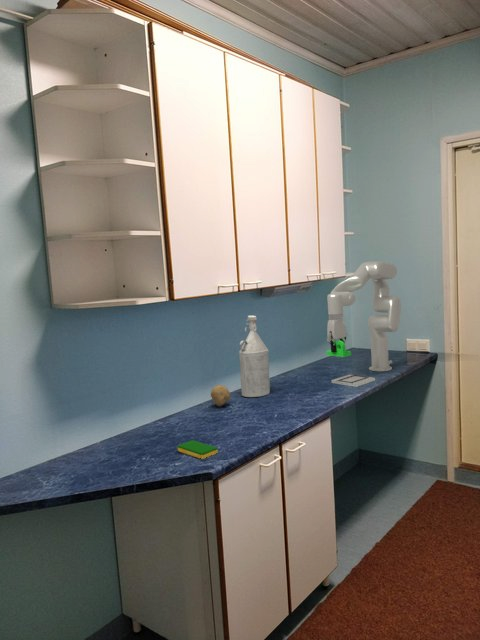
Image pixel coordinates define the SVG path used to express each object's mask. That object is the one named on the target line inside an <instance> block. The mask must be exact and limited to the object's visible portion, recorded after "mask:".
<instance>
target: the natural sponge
mask: <svg viewBox="0 0 480 640" xmlns="http://www.w3.org/2000/svg"><path fill="white" fill-rule="evenodd" d="M210 397H211V400H212V401H213V403H214V404H215V405H216V406H218V407H222V406H224V404H226V403H227V402H229V401H230V399H231V393H230V391H229V389H228V387H226V386H225V385H223V384H217V385H216V386H214V387H212V389H211V390H210Z"/></svg>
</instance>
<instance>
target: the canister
mask: <svg viewBox="0 0 480 640" xmlns="http://www.w3.org/2000/svg"><path fill="white" fill-rule="evenodd" d="M248 321H249V323H247V322H248ZM247 325H249V326H248V327H247ZM248 329H249V333H248V335H247V336H246V338H245V340H241V341H240V342H239V349H240V350H239V351H238V354H239V355H238V357H239V369H240V370H239V371H240V373H239V374H240V385H241V386H240V387H241V389H240V390H241V396H242V397H245V398H258V397H264V396H267V395H269V394H270V393H271V390H270V389H271V386H270V359H269V358H270V357H269V352H270V351H269V349H268V347H267V346H266V344H265V342H264V340H262V339H261V337H260V335H259V334H258V332H257V316H256V315H247V320H246V325H245V327H244V332H245V333H247V332H248Z"/></svg>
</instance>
